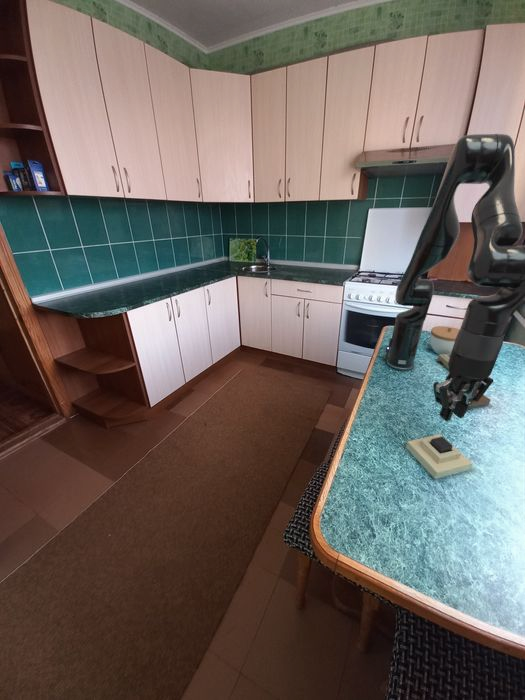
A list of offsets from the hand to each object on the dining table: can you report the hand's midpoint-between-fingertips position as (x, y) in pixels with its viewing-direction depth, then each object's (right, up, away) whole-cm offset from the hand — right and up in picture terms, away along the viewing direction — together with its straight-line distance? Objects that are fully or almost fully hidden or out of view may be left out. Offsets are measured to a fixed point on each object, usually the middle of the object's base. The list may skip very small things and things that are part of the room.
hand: (451, 416), depth 66 cm
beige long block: (+30, +7, +42) cm, 52 cm away
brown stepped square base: (+21, 0, +27) cm, 34 cm away
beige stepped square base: (0, -12, +6) cm, 13 cm away
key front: (0, -8, +4) cm, 10 cm away
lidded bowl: (+33, +14, +55) cm, 66 cm away
